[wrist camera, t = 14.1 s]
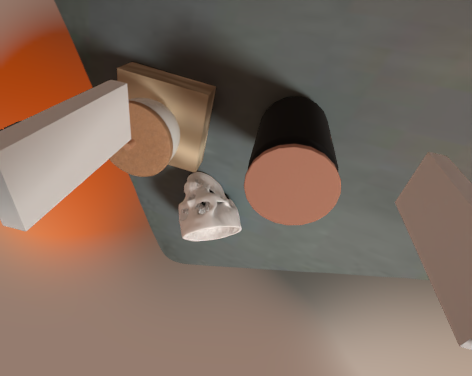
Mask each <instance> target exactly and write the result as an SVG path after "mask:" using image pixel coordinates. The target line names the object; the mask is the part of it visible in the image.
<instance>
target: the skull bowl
mask: <svg viewBox="0 0 472 376" xmlns="http://www.w3.org/2000/svg"><path fill="white" fill-rule="evenodd" d="M209 189H210V190H211V191H213V192H214V193H215V194H214V193H210V192H209ZM184 192H185V194H186V197H185V199H184V200H183V202H181V203H180V204H179V208H178V209H179V223H180V226H181V233H182V237H183V239H186V240H190V241H206V240H214V239H219V238H223V237H227V236H230V235H233V234H236V233H238V232H239V231H241V230H242V228H241V224H240V218H239V214H238V210H237V208H236V206H235V204H234V202H233V201H232V200H231V199H227V198H226V196H225V194H224V191H223V189H222V187H221V185H220V184H219V183H218V182H217V181H216V180H215V179H214V178H212V177H211V176H210V175H208V174H205V173H203V172H196V173H192V174H190V175H189V176H188V178H187V182H186V184H185V185H184ZM221 197H222V198H221ZM201 202H206V205H205V206H203V205H202V204H201ZM220 202H221V203H220ZM198 204H199V205H200V204H201V205H200V207H199V205H198ZM186 212H187V213H186Z"/></svg>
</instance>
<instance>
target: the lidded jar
mask: <svg viewBox="0 0 472 376" xmlns="http://www.w3.org/2000/svg"><path fill="white" fill-rule="evenodd" d="M128 101H129V115H130V129H131V140H130V141H129V142H128V143H126V144H125V145H124V146H123V147H122V148H121V149H120V150H118V151H117V152H116V153H115V154H114V155H113V156H112V157H110V158H109V159H110V160H111V162H112V163H113V164H115V165H116V166H117V167H118V168H120V169H121V170H123V171H125V172H127V173H129V174H131V175H135V176H141V177H147V176H153V175H155V174H157V173H159V172H161V171H162V170H163V169H164V168H165V167H166V166H167V164H168V163H169V162H170V160H171V159H172V158H173V156H174V155H175V153H176V151H177V149H178V146H179V143H180V128H179V124H178V122H177V120H176V118H175V116H174V115H173V113H172V112H171V111H170V110H169V109H168V108H167V107H166V106H165V105H163V104H162V103H160V102H158V101H156V100H153V99H149V98H131V99H128Z"/></svg>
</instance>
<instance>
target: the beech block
mask: <svg viewBox="0 0 472 376" xmlns="http://www.w3.org/2000/svg"><path fill="white" fill-rule="evenodd" d="M117 81H119V82H124V83H127V88H128V99H131V98H149V99H153V100H156V101H158V102H160V103H162V104H163V105H165V106H166V107H167V108H168V109H169V110H170V111H171V112H172V113H173V115H174V116H175V118H176V120H177V122H178V124H179V128H180V143H179V146H178V149H177V151H176V153H175V155H174V156H173V158H172V159H171V160H170V162H169V163H168V165H171V166H174V167H178V168H181V169H184V170H188V171H191V172H194V173H196V171H197V169H198V168H199V166H200V164H201V162H202V161H203V156H204V150H205V145H206V139H207V134H208V128H209V123H210V118H211V112H212V107H213V101H214V96H215V91H216V87H215V86H212V85H209V84H205V83H202V82H198V81H195V80H192V79H188V78H185V77H181V76H178V75H175V74H171V73H168V72H165V71H161V70H158V69H154V68H151V67H148V66H144V65H141V64H138V63H134V62H130V63H128V64H125V65H123V66H121V67H118V68H117Z"/></svg>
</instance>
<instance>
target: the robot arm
mask: <svg viewBox="0 0 472 376" xmlns="http://www.w3.org/2000/svg"><path fill="white" fill-rule="evenodd" d="M130 140H131V129H130V115H129V101H128V88H127V83H124V82H119V81H115V80H109V81H106V82H104V83H102V84H100V85H98V86H96V87H94V88H91V89H89V90H87V91H85V92H83V93H81V94H79V95H76V96H74V97H72V98H70V99H68V100H66V101H64V102H62V103H59V104H57V105H55V106H53V107H51V108H49V109H47V110H44V111H42V112H40V113H38V114H36V115H34V116H31V117H29V118H27V119H25V120H23V121H19V122H16V123H14V124H12V125H10V126H7V127H5V128H4V130H3V129H1V130H0V220H1V222H2V224H3V225H4V226H7V227H12V228H15V229H19V230H22V231H27V230H28V229H29V228H30V227H32V226H33V225H34V224H35V223H36V222H37V221H38V220H40V219H41V218H42V217H43V216H44V215H45V214H46V213H48V212H49V211H50V210H51V209H52V208H53V207H54V206H56V205H57V204H58V203H59V202H60V201H61V200H62V199H64V198H65V197H66V196H67V195H68V194H69V193H70V192H72V191H73V190H74V189H75V188H76V187H77V186H78V185H79V184H81V183H82V182H83V181H84V180H85V179H86V178H88V177H89V176H90V175H91V174H92V173H93V172H94V171H95V170H96V169H98V168H99V167H100V166H101V165H102V164H103V163H105V162H106V161H107V160H108V159H109V158H110V157H112V156H113V155H114V154H115V153H116V152H117V151H118V150H120V149H121V148H122V147H123V146H124V145H125V144H126V143H128V142H129V141H130ZM395 203H396V206H397V208H398V210H399V212H400V215H401V217H402V219H403V221H404V224H405V226H406V228H407V230H408V233H409V235H410V237H411V239H412V241H413V244H414V246H415V248H416V250H417V253H418V255H419V257H420V259H421V262H422V264H423V266H424V268H425V271H426V273H427V275H428V277H429V279H430V282H431V284H432V286H433V288H434V291H435V293H436V295H437V297H438V300H439V302H440V304H441V306H442V309H443V311H444V313H445V315H446V317H447V320H448V322H449V324H450V326H451V329H452V331H453V333H454V335H455V337H456V340H457V342H458V344H459V346H460V347H463V348H467V349H471V350H472V184H471V183H470V181H469V180H468V179H467V178H466V177H465V176H464V175H463V174H462V172H461V171H460V170H459V169H458V168H457V167H456V166H455V165H454V163H453V162H452V161H451V160H450V159H449V158H448V157H447V156H444V155H440V154H436V153H431V152H428V153H427V154H426V156H425V158H424V159H423V161H422V162H421V164H420V165H419V167H418V168H417V170H416V171H415V173H414V174H413V176H412V177H411V179H410V180H409V182H408V183H407V185H406V186H405V188H404V189H403V191H402V193H401V194H400V196H399V197H398V199H397V200H396V202H395Z"/></svg>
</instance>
